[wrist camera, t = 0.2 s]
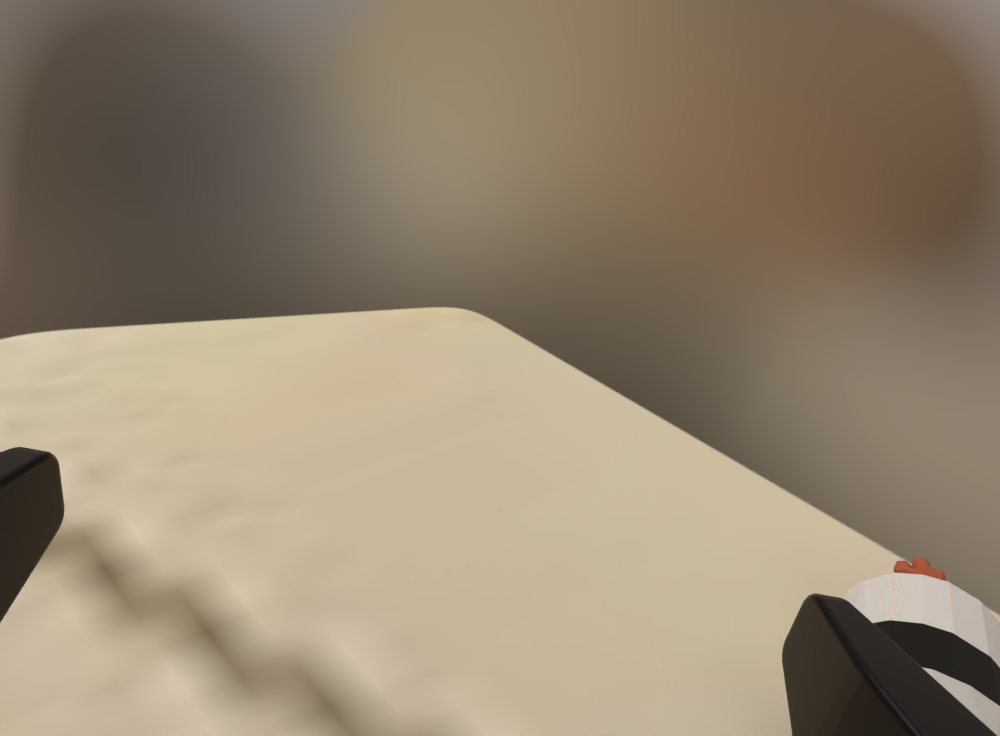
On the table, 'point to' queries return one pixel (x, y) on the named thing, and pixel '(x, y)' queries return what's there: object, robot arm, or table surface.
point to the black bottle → (938, 632)
